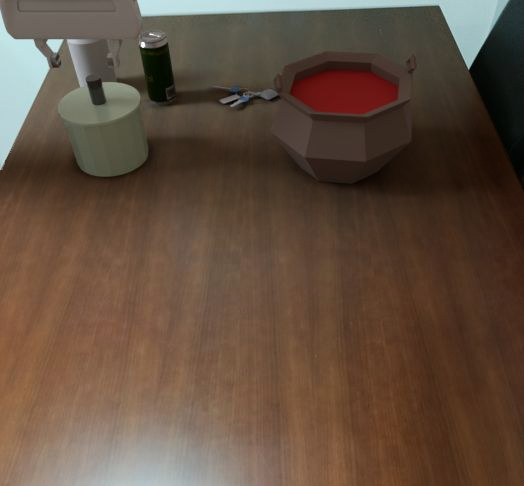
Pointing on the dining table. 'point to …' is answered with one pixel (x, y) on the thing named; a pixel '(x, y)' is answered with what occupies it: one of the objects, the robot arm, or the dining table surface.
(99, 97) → the lid
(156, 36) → the beer can
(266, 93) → the key chain
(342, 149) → the brown cauldron
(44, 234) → the dining table surface
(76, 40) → the can
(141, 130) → the pot
